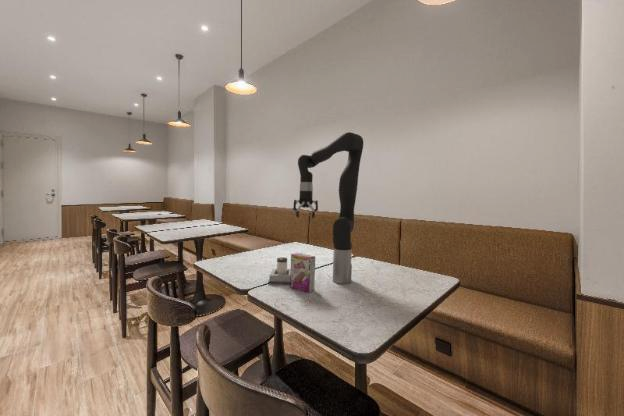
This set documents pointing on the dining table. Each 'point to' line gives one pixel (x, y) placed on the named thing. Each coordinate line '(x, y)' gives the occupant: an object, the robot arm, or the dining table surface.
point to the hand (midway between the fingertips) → (305, 217)
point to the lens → (282, 265)
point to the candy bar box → (302, 272)
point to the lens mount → (279, 277)
